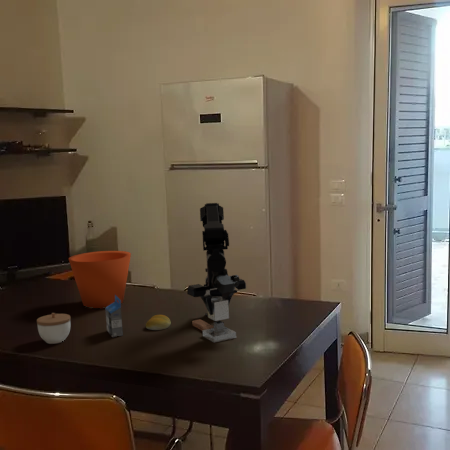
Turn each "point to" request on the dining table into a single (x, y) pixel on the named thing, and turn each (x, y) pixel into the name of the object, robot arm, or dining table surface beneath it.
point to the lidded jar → (54, 327)
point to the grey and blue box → (114, 318)
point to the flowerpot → (101, 276)
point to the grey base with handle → (214, 330)
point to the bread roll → (158, 322)
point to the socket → (219, 309)
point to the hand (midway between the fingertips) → (218, 313)
